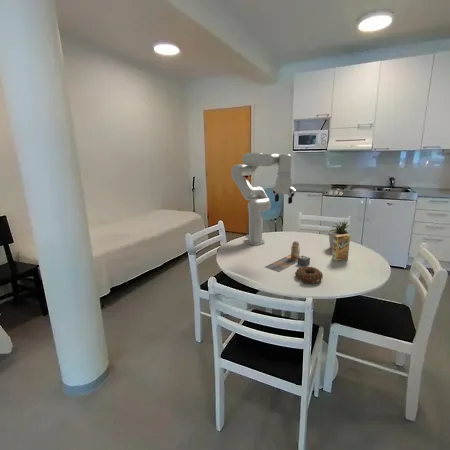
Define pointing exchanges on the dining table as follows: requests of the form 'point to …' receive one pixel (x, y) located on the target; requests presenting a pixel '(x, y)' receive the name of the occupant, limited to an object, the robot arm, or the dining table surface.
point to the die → (303, 261)
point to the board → (282, 263)
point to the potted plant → (337, 232)
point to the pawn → (295, 250)
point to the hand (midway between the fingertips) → (283, 202)
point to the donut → (309, 274)
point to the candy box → (340, 247)
